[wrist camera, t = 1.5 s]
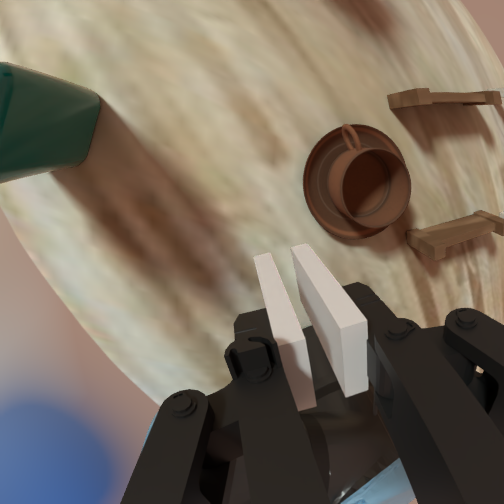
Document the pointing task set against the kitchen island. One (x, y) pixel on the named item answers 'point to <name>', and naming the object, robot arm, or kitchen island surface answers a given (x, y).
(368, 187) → the cup and saucer
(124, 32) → the kitchen island surface
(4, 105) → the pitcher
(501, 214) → the posts
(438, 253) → the brown wooden rail pair
